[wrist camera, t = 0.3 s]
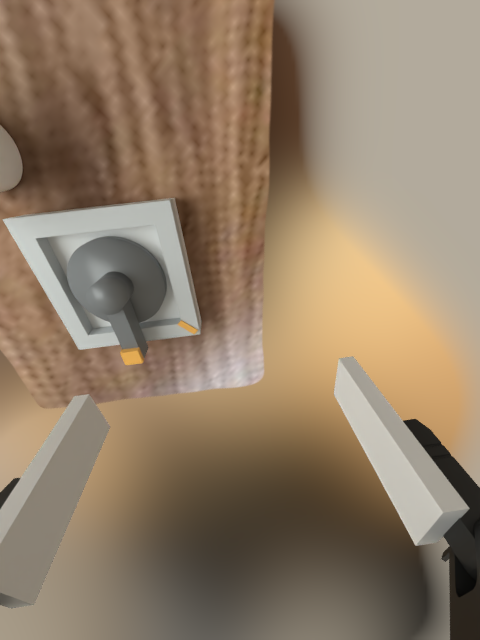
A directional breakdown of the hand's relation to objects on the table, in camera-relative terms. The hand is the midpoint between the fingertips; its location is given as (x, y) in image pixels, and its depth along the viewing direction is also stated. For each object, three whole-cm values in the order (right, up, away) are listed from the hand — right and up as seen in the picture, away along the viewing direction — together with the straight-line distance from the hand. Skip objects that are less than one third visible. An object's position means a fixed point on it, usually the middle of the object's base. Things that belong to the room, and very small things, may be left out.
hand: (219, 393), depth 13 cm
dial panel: (-17, +11, +24) cm, 31 cm away
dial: (-16, +8, +23) cm, 30 cm away
